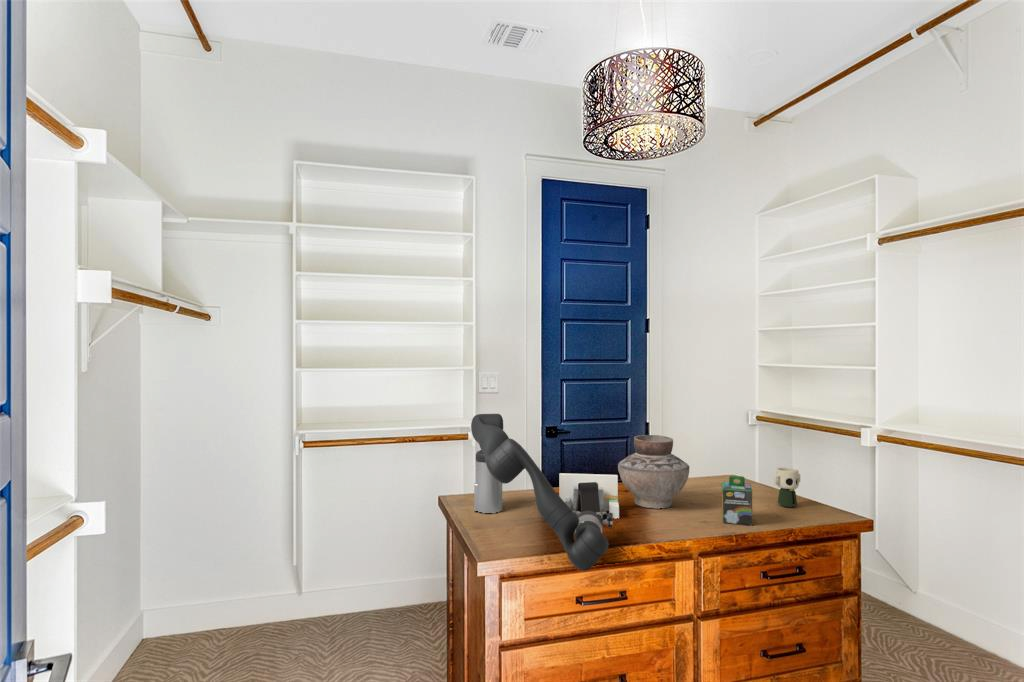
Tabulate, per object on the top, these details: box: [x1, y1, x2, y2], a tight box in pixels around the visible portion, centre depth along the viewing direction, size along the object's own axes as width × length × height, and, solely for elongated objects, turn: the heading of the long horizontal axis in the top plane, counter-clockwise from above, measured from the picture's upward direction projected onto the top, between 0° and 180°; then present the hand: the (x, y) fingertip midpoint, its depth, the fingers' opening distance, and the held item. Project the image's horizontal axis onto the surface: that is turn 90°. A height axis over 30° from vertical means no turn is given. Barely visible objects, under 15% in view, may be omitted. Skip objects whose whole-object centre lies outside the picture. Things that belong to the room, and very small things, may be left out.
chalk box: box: [721, 475, 754, 526], centre depth 193 cm, size 9×9×15 cm
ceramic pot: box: [617, 434, 690, 510], centre depth 212 cm, size 25×25×24 cm
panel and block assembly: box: [558, 472, 620, 519], centre depth 201 cm, size 20×11×12 cm, turn 83°
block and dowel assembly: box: [574, 487, 619, 512], centre depth 202 cm, size 15×3×8 cm, turn 83°
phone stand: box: [576, 482, 600, 513], centre depth 194 cm, size 9×6×12 cm, turn 10°
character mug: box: [773, 466, 801, 508], centre depth 210 cm, size 11×7×13 cm, turn 107°
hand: (588, 511), depth 180 cm, fingers open, 8 cm apart
